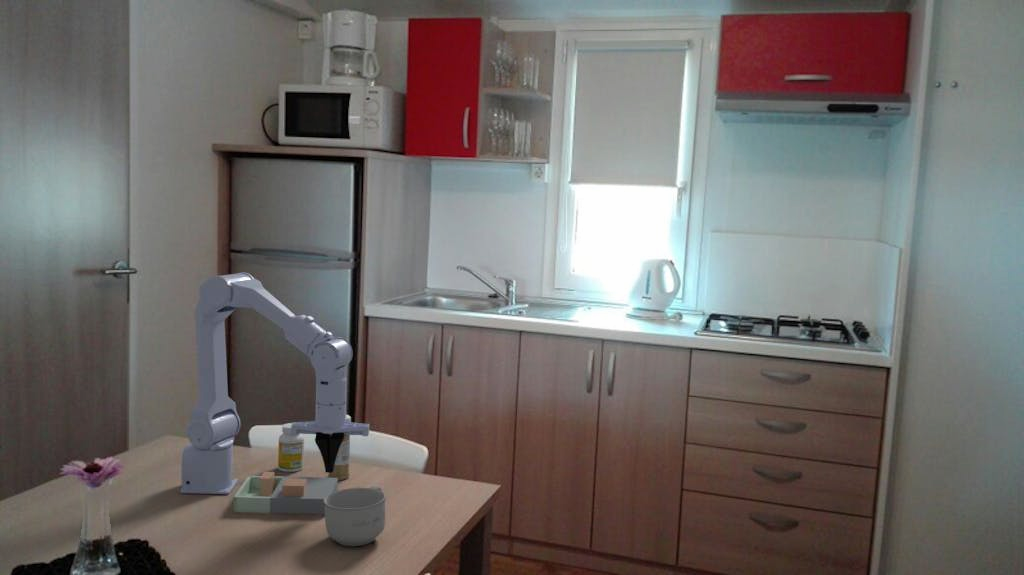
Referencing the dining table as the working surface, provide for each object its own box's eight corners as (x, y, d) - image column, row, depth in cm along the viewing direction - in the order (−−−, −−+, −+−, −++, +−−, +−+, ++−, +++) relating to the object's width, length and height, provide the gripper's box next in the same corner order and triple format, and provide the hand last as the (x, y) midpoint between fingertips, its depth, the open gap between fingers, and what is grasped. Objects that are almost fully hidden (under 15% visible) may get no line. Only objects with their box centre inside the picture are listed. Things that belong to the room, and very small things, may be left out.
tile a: (269, 498, 168) (259, 498, 167) (274, 491, 172) (264, 490, 171) (270, 478, 167) (259, 478, 167) (274, 471, 171) (264, 471, 171)
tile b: (282, 495, 162) (282, 485, 162) (286, 488, 166) (286, 478, 166) (303, 496, 162) (303, 486, 162) (307, 488, 166) (307, 478, 166)
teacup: (356, 557, 144) (357, 512, 143) (309, 541, 149) (310, 497, 149) (408, 532, 156) (409, 489, 155) (363, 517, 161) (364, 476, 160)
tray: (233, 512, 161) (233, 497, 160) (248, 490, 173) (248, 475, 172) (269, 513, 161) (270, 497, 161) (282, 490, 173) (282, 476, 173)
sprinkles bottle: (343, 472, 186) (344, 412, 184) (353, 478, 182) (354, 417, 181) (323, 476, 183) (325, 415, 181) (333, 482, 179) (335, 420, 178)
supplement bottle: (284, 463, 190) (285, 421, 189) (307, 465, 189) (308, 423, 188) (274, 471, 185) (274, 427, 183) (297, 473, 184) (298, 429, 183)
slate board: (269, 513, 161) (270, 497, 161) (282, 490, 173) (282, 476, 173) (328, 514, 162) (329, 499, 162) (337, 492, 174) (337, 477, 173)
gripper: (288, 406, 158) (287, 477, 160) (367, 408, 159) (365, 478, 161) (295, 397, 165) (294, 465, 167) (370, 399, 166) (369, 466, 168)
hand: (329, 470), depth 164 cm, fingers closed
